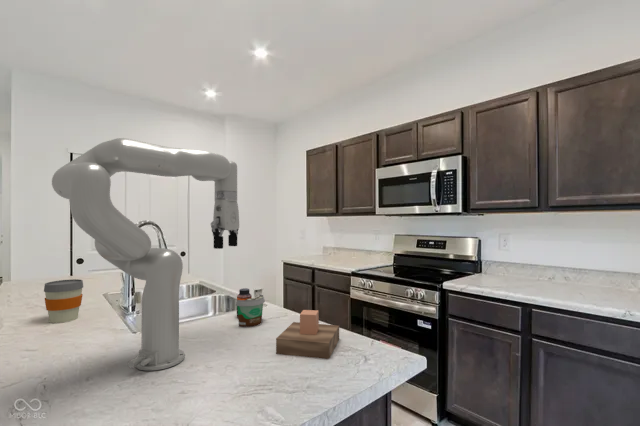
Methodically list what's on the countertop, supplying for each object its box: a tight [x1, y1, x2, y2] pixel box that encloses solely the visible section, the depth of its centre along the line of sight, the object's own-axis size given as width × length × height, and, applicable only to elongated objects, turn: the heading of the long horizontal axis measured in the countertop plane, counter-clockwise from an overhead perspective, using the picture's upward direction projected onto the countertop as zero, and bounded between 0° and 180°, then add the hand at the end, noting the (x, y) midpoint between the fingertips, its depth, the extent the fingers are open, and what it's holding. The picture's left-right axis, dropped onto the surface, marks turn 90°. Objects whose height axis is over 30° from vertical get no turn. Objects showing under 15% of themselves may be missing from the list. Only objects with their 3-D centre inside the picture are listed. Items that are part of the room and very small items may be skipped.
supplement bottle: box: [236, 287, 253, 318], centre depth 135 cm, size 6×6×11 cm
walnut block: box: [275, 321, 340, 360], centre depth 104 cm, size 16×16×5 cm
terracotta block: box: [299, 309, 320, 335], centre depth 104 cm, size 5×5×6 cm
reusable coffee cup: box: [43, 278, 84, 324], centre depth 132 cm, size 13×13×15 cm
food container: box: [235, 294, 266, 328], centre depth 125 cm, size 12×6×10 cm, turn 143°
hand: (225, 247), depth 113 cm, fingers open, 9 cm apart
